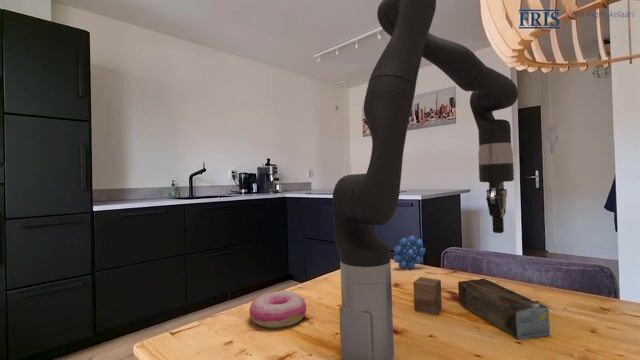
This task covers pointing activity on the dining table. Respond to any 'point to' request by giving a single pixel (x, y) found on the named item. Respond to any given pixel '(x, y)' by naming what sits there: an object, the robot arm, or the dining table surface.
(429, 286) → the walnut block
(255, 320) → the donut
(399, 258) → the grapes
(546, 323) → the beverage carton
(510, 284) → the dining table surface
